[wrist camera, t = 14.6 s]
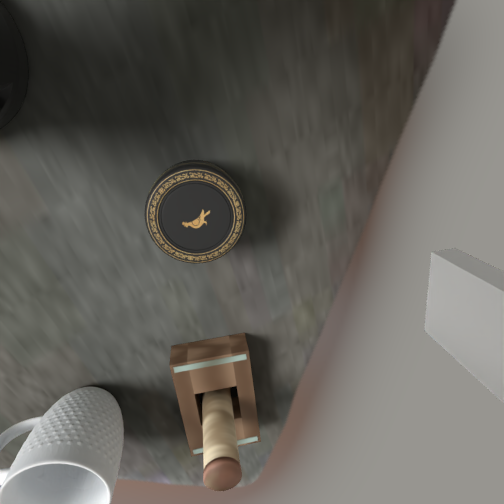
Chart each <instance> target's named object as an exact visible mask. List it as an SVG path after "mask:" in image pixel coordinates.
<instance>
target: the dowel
mask: <svg viewBox="0 0 504 504" xmlns="http://www.w3.org/2000/svg"><path fill="white" fill-rule="evenodd" d="M202 415H203V457H204V472H203V476H204V484H205V485H206V487H208V488H209V489H211V490H214V491H225V490H228V489H231V488H233V487H235V486H236V485H237V484H238V483H239V482H240V480H241V477H242V472H241V465H240V460H239V452H238V445H237V437H236V430H235V422H234V414H233V407H232V399H231V392H230V387H228V388H223V389H218V390H213V391H208V392H203V393H202Z"/></svg>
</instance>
